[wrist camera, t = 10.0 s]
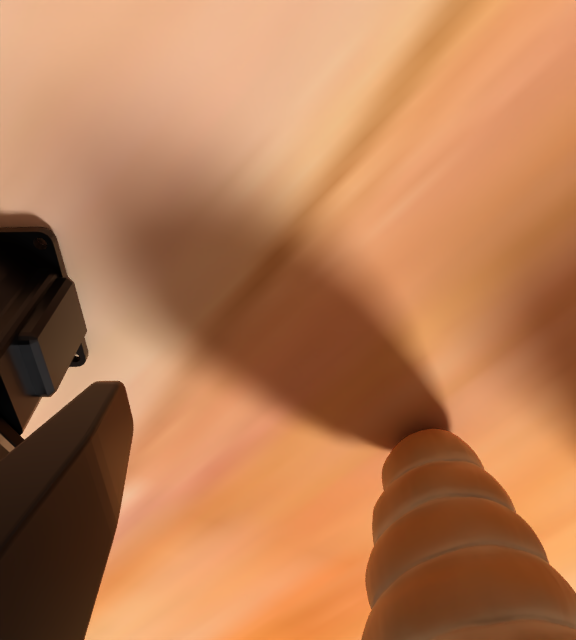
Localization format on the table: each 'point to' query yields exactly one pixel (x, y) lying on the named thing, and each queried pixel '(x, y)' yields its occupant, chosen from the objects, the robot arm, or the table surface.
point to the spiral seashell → (457, 554)
